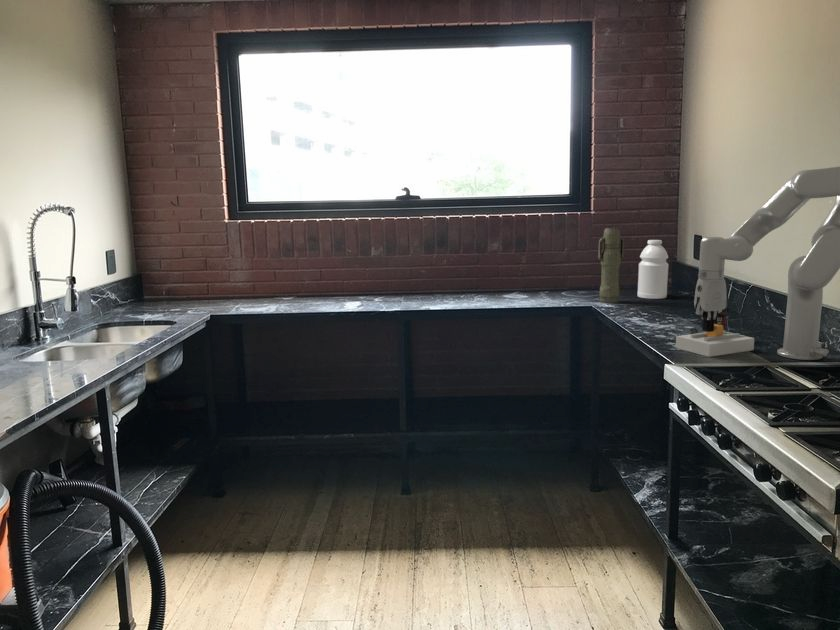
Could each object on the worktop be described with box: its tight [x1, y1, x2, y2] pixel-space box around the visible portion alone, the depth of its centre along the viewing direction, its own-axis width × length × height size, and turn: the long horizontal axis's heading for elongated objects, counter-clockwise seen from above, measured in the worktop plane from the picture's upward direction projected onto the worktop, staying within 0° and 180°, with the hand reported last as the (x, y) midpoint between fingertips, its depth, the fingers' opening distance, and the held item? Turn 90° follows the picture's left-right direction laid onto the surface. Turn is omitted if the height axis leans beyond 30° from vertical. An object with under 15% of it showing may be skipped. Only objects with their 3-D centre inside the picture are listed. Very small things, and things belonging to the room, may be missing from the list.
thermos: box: [597, 226, 625, 304], centre depth 319 cm, size 9×12×35 cm
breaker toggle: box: [706, 324, 723, 337], centre depth 223 cm, size 4×3×4 cm
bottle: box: [636, 239, 669, 300], centre depth 332 cm, size 14×14×28 cm
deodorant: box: [714, 301, 728, 331], centre depth 242 cm, size 6×6×15 cm
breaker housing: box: [675, 330, 755, 358], centre depth 224 cm, size 14×20×5 cm
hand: (707, 330), depth 222 cm, fingers closed
